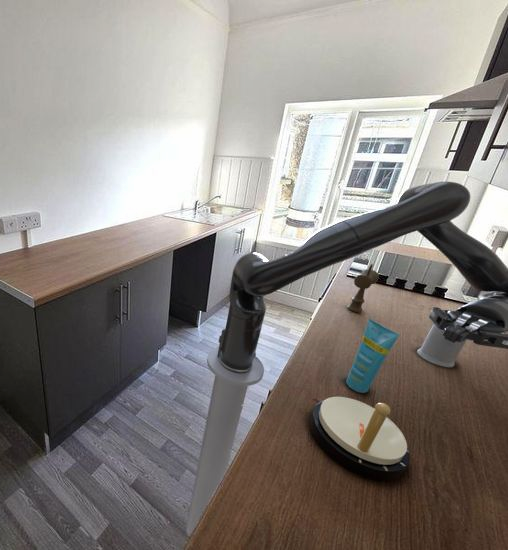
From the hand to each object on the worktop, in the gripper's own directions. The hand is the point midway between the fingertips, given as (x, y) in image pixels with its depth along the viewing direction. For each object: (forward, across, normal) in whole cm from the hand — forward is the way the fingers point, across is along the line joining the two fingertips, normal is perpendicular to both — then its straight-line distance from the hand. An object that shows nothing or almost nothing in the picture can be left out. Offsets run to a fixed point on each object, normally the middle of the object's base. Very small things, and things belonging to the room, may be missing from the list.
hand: (451, 336), depth 55 cm
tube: (-7, -12, +26) cm, 30 cm away
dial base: (+11, -3, +26) cm, 28 cm away
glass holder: (-47, -8, +26) cm, 54 cm away
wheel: (+11, -3, +23) cm, 25 cm away
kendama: (-52, -37, +26) cm, 69 cm away
